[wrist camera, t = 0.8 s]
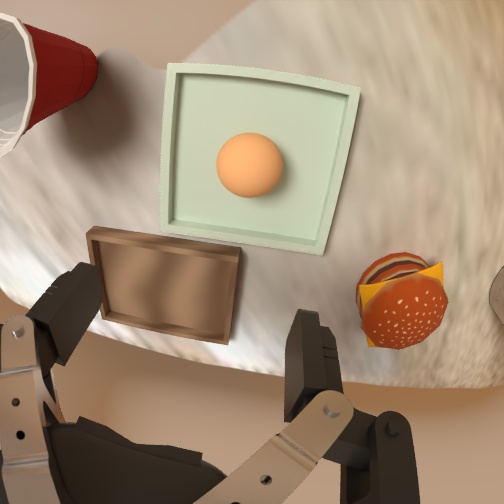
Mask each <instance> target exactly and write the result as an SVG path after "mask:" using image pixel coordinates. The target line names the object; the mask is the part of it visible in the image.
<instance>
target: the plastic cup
mask: <svg viewBox="0 0 504 504" xmlns="http://www.w3.org/2000/svg"><path fill="white" fill-rule="evenodd" d="M97 71H98V64H97V60H96V56H95V55H94V54H93V52H92V51H91V50H90V49H89V48H88V47H86V46H84V45H81V44H79V43H76V42H75V41H72V40H70V39H68V38H65V37H62V36H59V35H56V34H53V33H50V32H47V31H44V30H40V29H38V28H35V27H32V26H30V25H27V24H24V23H22V22H21V20H20V19H18V18H15V17H12V16H9V15H6V14H2V13H0V157H2V156H3V155H5V154H6V153H8V152H10V151H11V150H12V149H13V148H14V147H15V146H16V144H17V143H18V141H19V139H20V138H21V136H22V135H24V134H25V132H26V131H27V130H29V129H30V128H32V127H33V125H35V124H36V123H38V122H40V121H41V120H43V119H45V118H47V117H48V116H50V115H52V114H54V113H56V112H57V111H59V110H61V109H63V108H65V107H67V106H68V105H69V104H72V103H74V102H76V101H78V100H80V99H82V97H84V96H85V95H86V94H87V93H88V92H89V91H90V90H91V89H92V87H93V85H94V82H95V80H96V78H97Z"/></svg>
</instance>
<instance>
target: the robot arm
mask: <svg viewBox="0 0 504 504" xmlns="http://www.w3.org/2000/svg"><path fill="white" fill-rule="evenodd" d="M102 298H103V296H102V289H101V281H100V274H99V268H98V267H97V266H96V265H92V264H88V263H84V262H80V263H78V264H77V265H76V267H75V268H74V269H73V270H72V271H71V272H70V271H67V272H66V273H64V274H62V275H61V276H59V277H58V278H57V279H56V280H55V281H54V282H53V283H52V284H51V287H49V288H48V289H47V290H46V292H45V293H44V294H43V295H42V296H41V297H40V298H39V299H38V301H37V302H36V303H35V304H34V305H33V307H32V308H31V309H30V310H29V312H28V313H27V314H26V315H25V316H22V315H21V316H14V317H12V318H10V319H9V320H7V321H6V322H5V324H0V443H1V450H0V504H282V503H283V502H284V501H285V500H286V499H287V498H288V496H289V495H290V494H291V493H292V492H293V491H294V490H295V489H296V488H297V487H298V486H299V485H300V484H301V482H302V481H303V480H304V479H305V478H306V477H307V476H308V475H309V473H310V472H311V471H312V470H313V469H314V467H315V466H316V465H317V463H318V461H319V460H320V459H321V458H324V459H327V460H330V461H333V462H336V463H339V464H341V482H340V504H420V496H419V485H418V476H417V467H416V460H415V453H414V446H413V439H412V433H411V428H410V424H409V422H408V421H407V419H406V418H405V417H404V416H403V415H401V414H400V413H397V412H394V411H387V412H384V413H382V414H380V415H379V416H378V417H376V416H373V415H370V414H367V413H364V412H361V411H359V410H357V409H355V408H354V407H353V405H352V403H351V401H350V400H349V399H348V398H347V397H346V396H345V395H344V393H343V387H342V380H341V373H340V366H339V360H338V352H337V346H336V340H335V337H334V335H333V334H332V332H331V330H330V329H329V327H323V326H320V322H319V314H318V312H314V311H308V310H302V309H298V311H297V313H296V316H295V318H294V321H293V324H292V326H291V329H290V332H289V335H288V338H287V341H286V347H285V401H284V402H285V403H284V404H285V405H284V422H289V423H290V424H289V425H288V426H287V427H286V428H285V429H284V430H283V431H282V432H281V433H279V434H276V435H275V436H274V437H272V438H271V439H270V440H269V441H268V442H267V443H265V444H264V445H263V446H262V447H261V448H260V449H259V450H258V451H257V452H256V453H255V454H254V455H252V456H251V457H250V458H249V459H248V460H247V461H246V462H244V463H243V464H242V465H241V466H240V467H239V468H237V469H236V470H235V471H234V472H233V473H232V474H230V475H229V476H226V475H225V474H224V473H223V472H222V471H221V470H219V469H218V468H216V467H215V466H213V465H211V464H210V463H208V462H206V461H203V460H202V453H200V452H196V451H191V450H187V449H182V448H178V447H174V446H170V445H145V444H136V443H133V442H131V441H129V440H128V439H126V438H124V437H123V436H121V435H120V434H118V433H116V432H115V431H113V430H112V429H110V428H109V427H107V426H104V425H102V424H99V423H96V422H94V421H91V420H88V419H86V418H84V417H81V416H79V418H78V421H77V423H72V422H68V423H66V421H65V419H64V417H63V414H62V412H61V408H60V404H59V400H58V395H57V390H56V385H55V380H54V374H53V370H52V366H53V365H54V363H57V364H60V365H62V366H65V365H66V363H67V361H68V359H69V357H70V356H71V354H72V353H73V351H74V349H75V347H76V346H77V344H78V343H79V341H80V339H81V338H82V336H83V335H84V333H85V331H86V330H87V328H88V327H89V325H90V324H91V322H92V320H93V319H94V317H95V316H96V314H97V313H98V311H99V309H100V307H101V304H102ZM489 300H490V304H491V307H492V308H493V309H494V311H495V312H496V314H497V315H498V317H499V319H500V320H501V322H502V323H503V325H504V267H503V268H502V270H501V271H500V272H499V273H498V275H497V277H496V278H495V280H494V282H493V285H492V287H491V291H490V296H489Z"/></svg>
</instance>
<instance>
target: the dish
mask: <svg viewBox="0 0 504 504" xmlns="http://www.w3.org/2000/svg"><path fill="white" fill-rule="evenodd" d="M360 91H361V88H359V87H355V86H351V85H347V84H343V83H339V82H334V81H330V80H325V79H320V78H315V77H310V76H305V75H299V74H294V73H288V72H281V71H274V70H267V69H259V68H251V67H241V66H230V65H216V64H196V63H168V64H167V74H166V84H165V95H164V108H163V122H162V140H161V165H160V231H162V232H169V233H176V234H183V235H190V236H196V237H203V238H210V239H217V240H223V241H230V242H237V243H244V244H250V245H257V246H264V247H270V248H277V249H283V250H290V251H297V252H303V253H310V254H316V255H323V252H324V249H325V245H326V241H327V238H328V234H329V230H330V226H331V223H332V219H333V215H334V211H335V207H336V203H337V199H338V195H339V191H340V186H341V182H342V178H343V174H344V169H345V165H346V160H347V156H348V151H349V147H350V142H351V137H352V132H353V128H354V123H355V117H356V112H357V107H358V102H359V96H360ZM249 132H251V133H258V134H261V135H263V136H266V137H267V138H269V139H270V140H271V141H272V142H274V144H275V145H276V146H277V148H278V149H279V151H280V153H281V156H282V161H283V169H282V174H281V177H280V179H279V181H278V183H277V184H276V185H275V187H274V188H273V189H272V190H270V191H269V192H268V193H266V194H264V195H262V196H259V197H254V198H245V197H240V196H237V195H235V194H233V193H231V192H230V191H229V190H227V189H226V188H225V187H224V186H223V184H222V183H221V181H220V179H219V177H218V174H217V169H216V161H217V156H218V153H219V151H220V149H221V148H222V146H223V145H224V144H225V142H227V141H228V140H229V139H230V138H232V137H234V136H236V135H238V134H241V133H249Z"/></svg>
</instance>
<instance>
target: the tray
mask: <svg viewBox="0 0 504 504" xmlns="http://www.w3.org/2000/svg"><path fill="white" fill-rule="evenodd" d="M86 238H87V245H88V252H89V258H90V263H91V264H92V265H96V266H97V267H98V268H99V274H100V281H101V289H102V296H103V298H102V304H101V307H100V312H101V316H102V319H104V320H108V321H112V322H116V323H120V324H124V325H128V326H132V327H137V328H141V329H145V330H150V331H155V332H159V333H164V334H169V335H174V336H179V337H184V338H189V339H195V340H200V341H206V342H212V343H218V344H224V345H228V343H229V337H230V331H231V322H232V314H233V306H234V297H235V289H236V281H237V273H238V265H239V257H240V249H241V248H240V247H234V246H227V245H220V244H214V243H207V242H200V241H193V240H187V239H180V238H173V237H167V236H160V235H153V234H146V233H139V232H133V231H126V230H119V229H112V228H106V227H99V226H93V227H92V228H91V229H90V230H89V231H88V232H87V233H86Z"/></svg>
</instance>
